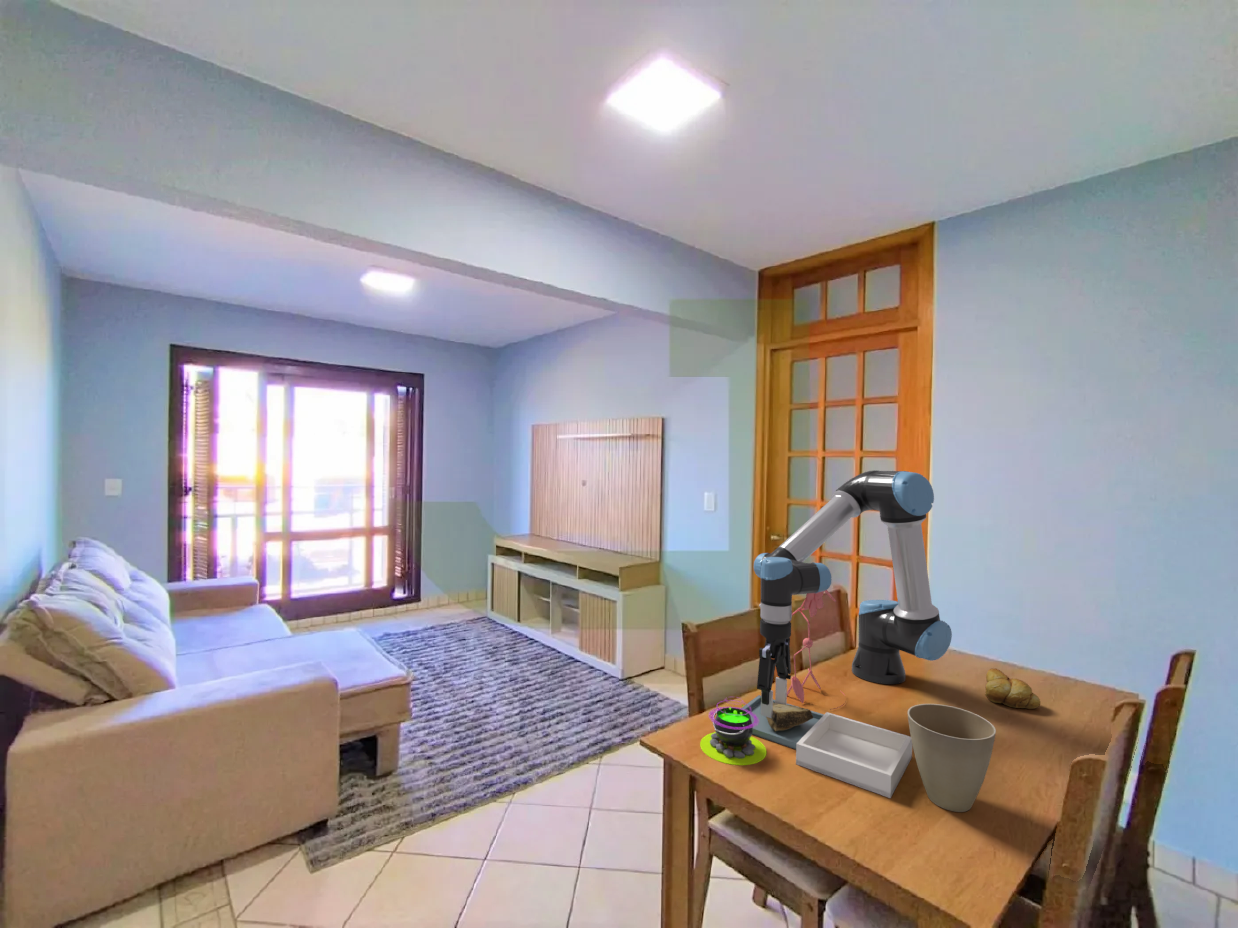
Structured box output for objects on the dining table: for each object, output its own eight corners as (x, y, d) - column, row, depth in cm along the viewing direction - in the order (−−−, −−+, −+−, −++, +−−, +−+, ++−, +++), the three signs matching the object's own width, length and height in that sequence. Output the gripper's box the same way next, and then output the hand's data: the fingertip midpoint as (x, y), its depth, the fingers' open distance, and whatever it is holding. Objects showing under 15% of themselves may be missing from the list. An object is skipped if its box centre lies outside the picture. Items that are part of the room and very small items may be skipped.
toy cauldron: (688, 737, 133) (689, 691, 133) (742, 728, 138) (743, 683, 138) (721, 771, 119) (722, 719, 119) (780, 759, 124) (781, 709, 124)
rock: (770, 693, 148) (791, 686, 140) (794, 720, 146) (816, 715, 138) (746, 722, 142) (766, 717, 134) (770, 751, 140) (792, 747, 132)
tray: (758, 700, 154) (758, 694, 154) (828, 721, 142) (828, 715, 142) (726, 725, 139) (726, 719, 139) (801, 751, 127) (801, 744, 127)
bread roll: (1043, 706, 154) (1043, 677, 154) (1035, 717, 147) (1036, 687, 147) (988, 691, 163) (989, 664, 163) (979, 701, 156) (979, 672, 156)
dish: (826, 730, 138) (826, 711, 138) (911, 756, 126) (912, 737, 126) (795, 763, 122) (796, 743, 122) (890, 798, 110) (891, 775, 110)
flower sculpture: (767, 703, 152) (770, 575, 152) (811, 678, 170) (813, 563, 170) (822, 723, 141) (825, 585, 141) (862, 694, 160) (865, 571, 159)
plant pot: (915, 770, 120) (917, 696, 120) (998, 798, 111) (1000, 718, 111) (896, 802, 109) (898, 720, 109) (987, 836, 99) (990, 747, 99)
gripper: (777, 608, 151) (776, 692, 152) (743, 626, 135) (741, 720, 135) (805, 613, 147) (803, 700, 147) (772, 632, 130) (771, 729, 130)
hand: (773, 709), depth 141 cm, fingers open, 8 cm apart
